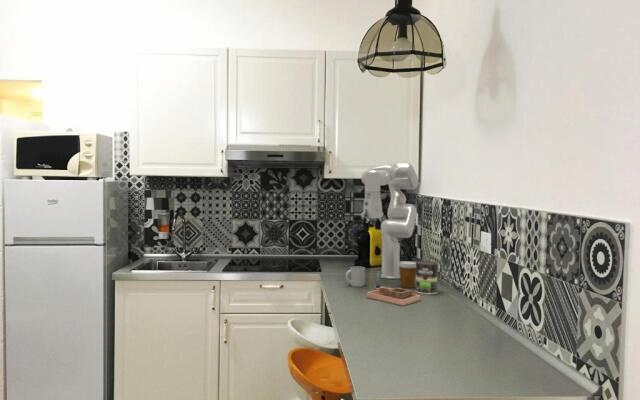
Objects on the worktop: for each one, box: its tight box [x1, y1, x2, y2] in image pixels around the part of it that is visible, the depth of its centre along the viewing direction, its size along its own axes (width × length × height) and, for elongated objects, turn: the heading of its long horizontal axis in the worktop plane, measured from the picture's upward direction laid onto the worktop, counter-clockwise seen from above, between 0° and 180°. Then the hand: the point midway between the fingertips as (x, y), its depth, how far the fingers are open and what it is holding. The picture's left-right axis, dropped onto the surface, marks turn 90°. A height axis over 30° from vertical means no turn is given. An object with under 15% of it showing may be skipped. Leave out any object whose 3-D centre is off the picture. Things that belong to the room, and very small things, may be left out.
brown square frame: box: [379, 285, 413, 300], centre depth 207 cm, size 14×8×4 cm, turn 47°
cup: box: [345, 265, 366, 288], centre depth 234 cm, size 7×10×9 cm
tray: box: [366, 289, 421, 307], centre depth 207 cm, size 13×19×2 cm
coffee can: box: [414, 260, 439, 296], centre depth 221 cm, size 10×10×14 cm
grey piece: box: [373, 271, 382, 290], centre depth 227 cm, size 4×4×8 cm
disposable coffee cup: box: [398, 260, 417, 289], centre depth 233 cm, size 10×10×12 cm
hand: (372, 230), depth 230 cm, fingers open, 9 cm apart
